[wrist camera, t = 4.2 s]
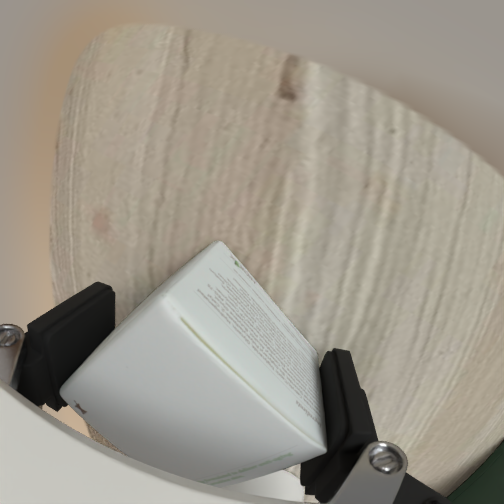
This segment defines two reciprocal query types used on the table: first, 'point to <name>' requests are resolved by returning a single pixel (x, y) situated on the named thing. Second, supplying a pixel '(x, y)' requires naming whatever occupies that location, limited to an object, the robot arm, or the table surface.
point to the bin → (483, 483)
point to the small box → (205, 379)
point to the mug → (272, 486)
